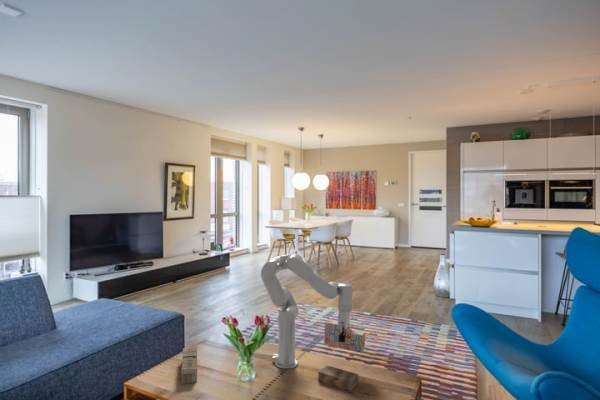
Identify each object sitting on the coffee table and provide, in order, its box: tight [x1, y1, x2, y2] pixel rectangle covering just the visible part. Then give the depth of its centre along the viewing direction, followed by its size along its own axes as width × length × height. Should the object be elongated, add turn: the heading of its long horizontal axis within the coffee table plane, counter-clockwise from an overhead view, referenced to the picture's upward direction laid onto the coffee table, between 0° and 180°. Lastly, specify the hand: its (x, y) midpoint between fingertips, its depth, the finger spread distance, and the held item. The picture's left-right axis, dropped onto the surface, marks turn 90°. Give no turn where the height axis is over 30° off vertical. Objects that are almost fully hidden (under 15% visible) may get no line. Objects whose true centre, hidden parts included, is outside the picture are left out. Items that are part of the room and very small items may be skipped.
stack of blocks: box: [323, 318, 366, 354], centre depth 197 cm, size 21×6×12 cm, turn 63°
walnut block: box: [317, 364, 359, 392], centre depth 184 cm, size 18×9×5 cm, turn 58°
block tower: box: [180, 345, 198, 385], centre depth 194 cm, size 8×8×29 cm
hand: (343, 339), depth 198 cm, fingers closed on stack of blocks, 6 cm apart
